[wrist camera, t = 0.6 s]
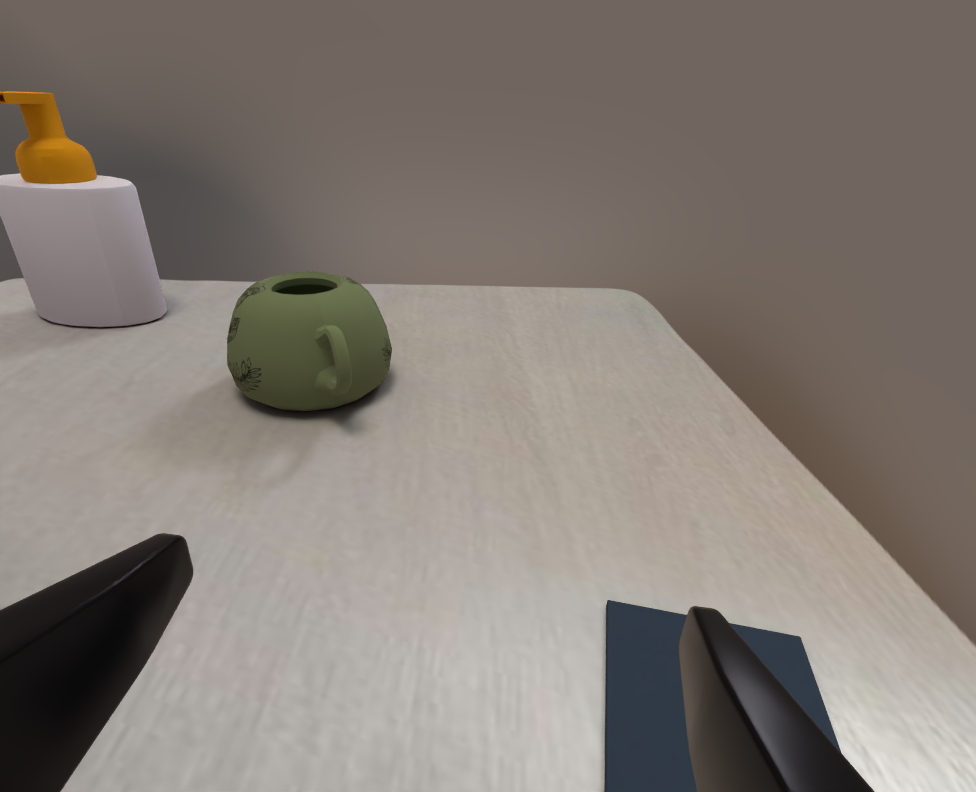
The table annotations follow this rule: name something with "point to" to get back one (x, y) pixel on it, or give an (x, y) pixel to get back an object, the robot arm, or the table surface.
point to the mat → (675, 696)
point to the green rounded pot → (307, 342)
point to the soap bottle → (76, 228)
